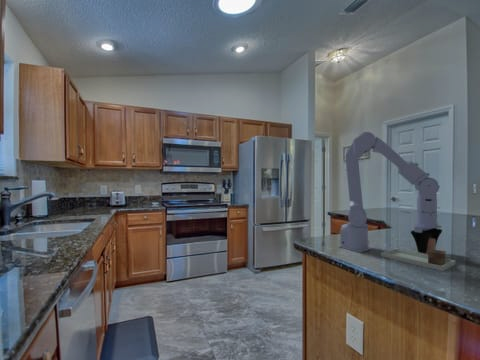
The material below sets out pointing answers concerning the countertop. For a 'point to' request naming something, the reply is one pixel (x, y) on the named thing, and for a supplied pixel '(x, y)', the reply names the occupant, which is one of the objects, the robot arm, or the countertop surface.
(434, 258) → the walnut block
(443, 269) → the tray
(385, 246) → the countertop surface
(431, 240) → the brown rounded cylinder
